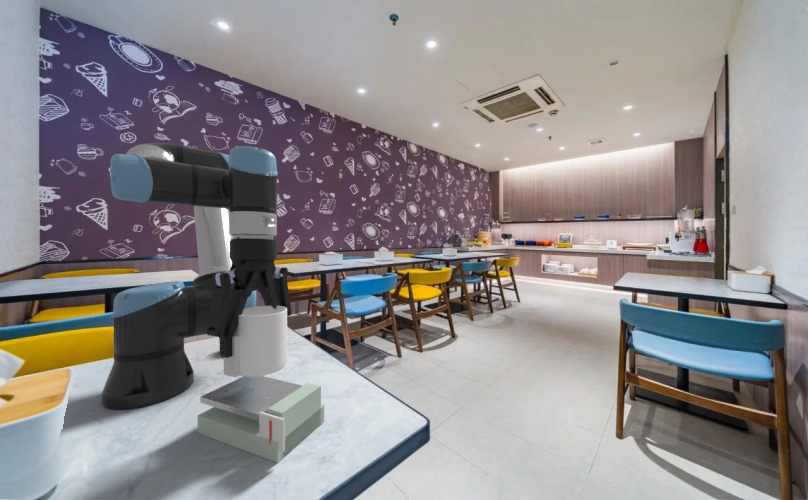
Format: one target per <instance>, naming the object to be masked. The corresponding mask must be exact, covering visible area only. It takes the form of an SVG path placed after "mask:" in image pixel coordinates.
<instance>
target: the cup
mask: <svg viewBox="0 0 808 500" xmlns="http://www.w3.org/2000/svg"><path fill="white" fill-rule="evenodd" d="M287 317H288V316H287V308H286V307H283V306H276V309H274V308H273V307H272V306H266V305H258V306H256V307H250V308H245V309H244V310H243V312H242V315H239V323H238V326H237V329H236V332H235V335H236V336H239V376H241V377H260V376H264V377H266V376H268V375H272V374H275V373H277V372H279V371H281V370H283V369H284V368H285V366H286V364H287V362H288V320H287Z"/></svg>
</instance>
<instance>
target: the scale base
mask: <svg viewBox="0 0 808 500" xmlns="http://www.w3.org/2000/svg"><path fill="white" fill-rule="evenodd" d="M321 397H322V386H320V385H318V384H313V383H309V382H308V383H305V384H304V385H302V387H301V388H299V389H297V390H296V391H294V392H293V393H291V394H290V395H288V396H287V397H285V398H283V399H282V400H280V401H279V402H277V403H276V404H274V405H273V406H271V407H269V408H268V414H267V413H264V412H259V421H257V420H254V419H251V418H247V417H244V416H241V415H238V414H235V413H232V412H229V411H225V410H222V409H219V408H216V407H213V406H212V407H211V408H209V409H207V410H205V411H204V412H201V413H199V414H198V415H197V434H200V435H203V436H205V437H208V438H210V439H213V440H215V441H218V442H220V443H224V444H226V445H229V446H232V447H234V448H236V449H239V450H242V451H245V452H248V453H250V454H252V455H255V456H258V457H261V458H263V459H266V460H268V461H271V462H274V463H276V464H278V463H280V462H281V461H282V460H283V459H284V458H286V457H287V455H288V454H290V453H291V452H292V451H293V450H294V449H295V448H296V447H297V446H299V445H300V444H301V443H302V442H303V441H304V440H305V439H306V438H308V437H309V436H310V435H311V434H312V433H313V432H315V431H316V430H317V429H318V428H319V427H320V426H321V425H322V424H323V423H324V422H325V405H324V404H321V403H322V398H321Z"/></svg>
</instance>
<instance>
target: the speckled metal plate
mask: <svg viewBox="0 0 808 500" xmlns="http://www.w3.org/2000/svg"><path fill="white" fill-rule="evenodd" d="M302 386H303V384H297V383H293V382H289V381H284V380H280V379H276V378H272V377H268V376H260V377H243V376H241V377H239V378H237V379H235V380H233V381H231V382H229V383H226V384H224V385H223V386H220V387H218V388H216V389H214V390H212V391H209V392H208V393H205V394H203V395H201V396H200V398H199V400H200V404H203V405H207V406H210V407H212V408H213V407H216V408H219V409H222V410H225V411H229V412H232V413H235V414H238V415H241V416H244V417H247V418H251V419H254V420H257V421H259V412H264V413H267V414H268V408H269V407H271V406H273V405H274V404H276V403H277V402H279V401H280V400H282V399H283V398H285V397H287V396H288V395H290V394H291V393H293V392H294V391H296V390H297V389H299V388H301V387H302Z"/></svg>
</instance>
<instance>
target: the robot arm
mask: <svg viewBox="0 0 808 500" xmlns="http://www.w3.org/2000/svg"><path fill="white" fill-rule="evenodd" d="M277 169H278V167H277V158H276V156H275V155H274V153H272V152H271V151H269V150H267V149H264V148H260V147H255V146H249V145H248V146H246V145H244V146H243V145H239V146H234V147H233V148H231V149H230V150H229V153H228V154H226V153H222V152H219V151H215V150H214V151H210V150H204V149H200V148H195V147H190V146H184V145H180V144H174V143H171V142H170V143H167V142H148V143H140V144H136V145H134V146H132V147H130V148H129V149H128V150H127V151H126V153H115V154H113V155H112V156H111V158H110V187H111V188H110V189H111V194H112V196H113V197H114V198H115V199H117V200H119V201H120V200H121V201H129V202H136V203H139V204H144V203H152V204H163V205H164V204H165V205H167V204H168V205H169V204H170V205H179V206H180V205H181V206H192V207H193V211H194V222H195V223H194V224H195V235H196V245H197V257H198V270H199V271H198V272H199V274H198V275H197V276H196V277H195V278H193V280H192V286H186V287H185V284H184V282H183V281H179V280H177V281H175V280H174V281H165V282H164V281H163V282H157V283H152V284H146V285H140V286H136V287H133V288H128V289H125V290H123V291H121V292H119V293H117V294H116V295H115V297H114V299H113V309H112V312H113V313H112V314H111V317H112V319H113V363H112V367H111V368H110V371H109V374H108V377H107V379H106V382H105V384H104V387H103V389H102V393H101V404H102V406H103V407H105V408H106V409H112V410H129V409H136V408H141V407H145V406H149V405H153V404H157V403H160V402H163V401H167V400H169V399H171V398H173V397H176V396H178V395H180V394H182V393H183V392H185V391H186V390H188V389H190V387H192V385H194V381H195V380H194V379H195V375H194V374H195V373H194V372H195V371H194V369H193V367H192V364H191V362H190V360H189V357H188V355H187V353H186V351H185V339H186V338H193V337H198V336H205V335H206V336H210V337H216V338H218V339H219V356H220V357H221V358H223V375H225V376H229V377H233V378H236V377H238V376H240V375H239V336H236V335H234V334H235V332H236V329H237V326H238V323H239V315H242V312H243V310H244V309H245V308H250V307H257V306H256V305H257V292H259V294H260V295H261V298H262V301H263V302H264V306H272V307H273V308H274V309H276V306H283V307H286V308H287V321H288V320H289V317H290V316H291V315H292V305H291V299H290V292H289V286H288V271H289V268H288V267H286V266H285V267H284V266H283V267H282V266H276V265H275V260H277V258H278V241H277V240H276V239H275V238H274V237H276V236H277V235H278V230H277V229H278V225H277V223H278V221H277V219H278V216H277V214H278V208H277V207H278V204H277V203H278V199H277V198H278V175H279V172H278V170H277Z"/></svg>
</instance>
